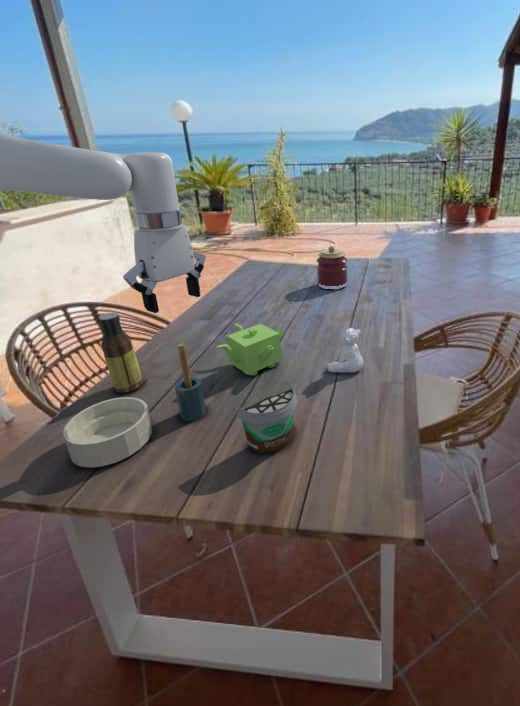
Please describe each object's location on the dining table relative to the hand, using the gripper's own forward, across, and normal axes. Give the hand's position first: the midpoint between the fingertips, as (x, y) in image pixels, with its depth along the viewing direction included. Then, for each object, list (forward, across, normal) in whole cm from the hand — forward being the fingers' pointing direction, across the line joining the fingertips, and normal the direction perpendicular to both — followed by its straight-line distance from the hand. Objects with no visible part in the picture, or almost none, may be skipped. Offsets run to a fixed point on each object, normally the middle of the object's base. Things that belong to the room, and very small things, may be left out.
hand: (174, 303), depth 80 cm
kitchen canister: (+27, -87, -20) cm, 93 cm away
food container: (+27, -1, +24) cm, 36 cm away
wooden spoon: (+26, +1, +1) cm, 26 cm away
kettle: (+27, -21, -2) cm, 34 cm away
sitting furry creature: (+27, -33, +21) cm, 48 cm away
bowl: (+26, +15, -5) cm, 31 cm away
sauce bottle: (+27, +2, -22) cm, 35 cm away
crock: (+26, +1, +1) cm, 27 cm away
